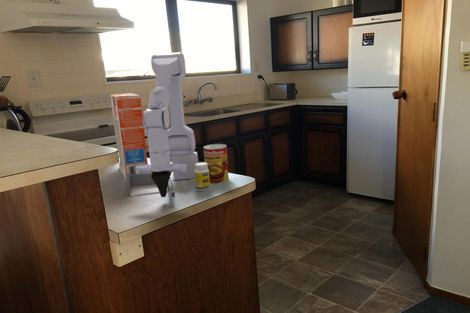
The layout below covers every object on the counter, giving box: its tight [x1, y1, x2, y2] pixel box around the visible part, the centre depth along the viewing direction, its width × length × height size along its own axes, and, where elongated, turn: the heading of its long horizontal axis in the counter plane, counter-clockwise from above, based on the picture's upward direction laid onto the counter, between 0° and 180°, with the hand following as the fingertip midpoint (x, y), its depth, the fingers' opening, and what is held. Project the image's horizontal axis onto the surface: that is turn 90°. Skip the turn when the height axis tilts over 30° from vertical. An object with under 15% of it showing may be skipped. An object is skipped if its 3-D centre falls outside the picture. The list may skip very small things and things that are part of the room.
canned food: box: [203, 143, 229, 185], centre depth 129 cm, size 8×8×12 cm
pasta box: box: [109, 92, 149, 180], centre depth 144 cm, size 23×8×30 cm, turn 23°
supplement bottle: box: [194, 161, 211, 192], centre depth 120 cm, size 5×5×8 cm
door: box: [168, 176, 176, 207], centre depth 113 cm, size 14×2×4 cm, turn 10°
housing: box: [124, 173, 169, 197], centre depth 123 cm, size 14×10×4 cm
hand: (163, 196), depth 110 cm, fingers closed
